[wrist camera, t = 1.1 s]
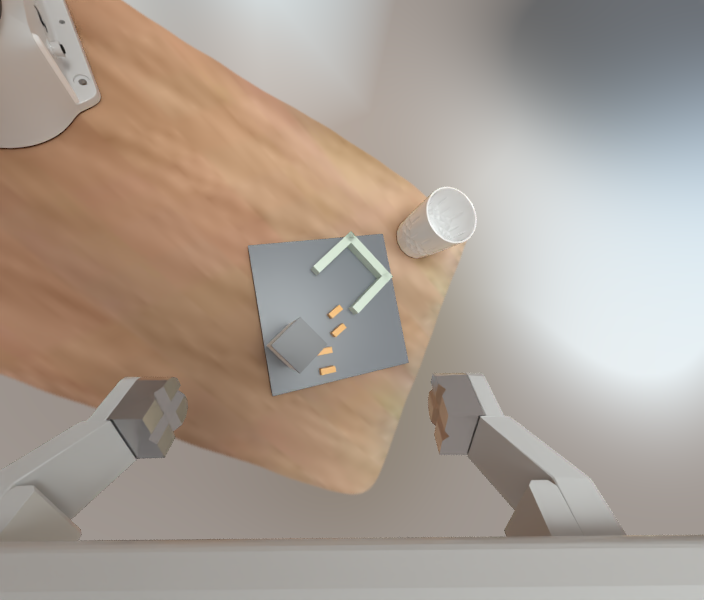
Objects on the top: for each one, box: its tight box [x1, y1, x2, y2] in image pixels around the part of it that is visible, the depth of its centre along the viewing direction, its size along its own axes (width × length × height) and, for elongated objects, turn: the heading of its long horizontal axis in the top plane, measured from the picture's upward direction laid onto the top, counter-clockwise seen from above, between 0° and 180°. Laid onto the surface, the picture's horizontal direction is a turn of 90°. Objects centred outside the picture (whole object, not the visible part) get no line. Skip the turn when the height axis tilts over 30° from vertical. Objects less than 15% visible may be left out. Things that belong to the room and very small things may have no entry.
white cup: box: [397, 187, 477, 259], centre depth 47 cm, size 8×8×10 cm
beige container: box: [266, 317, 327, 373], centre depth 37 cm, size 4×4×10 cm
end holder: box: [311, 232, 393, 314], centre depth 45 cm, size 8×9×2 cm
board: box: [248, 234, 409, 396], centre depth 44 cm, size 20×20×2 cm
